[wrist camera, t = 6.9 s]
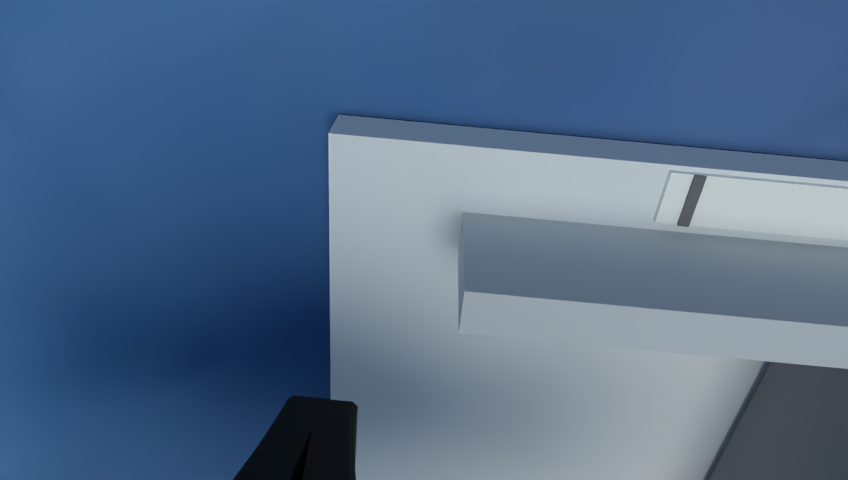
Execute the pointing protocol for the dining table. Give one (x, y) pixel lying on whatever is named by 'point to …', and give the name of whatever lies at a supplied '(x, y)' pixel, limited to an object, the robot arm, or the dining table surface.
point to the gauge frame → (569, 297)
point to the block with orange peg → (791, 427)
